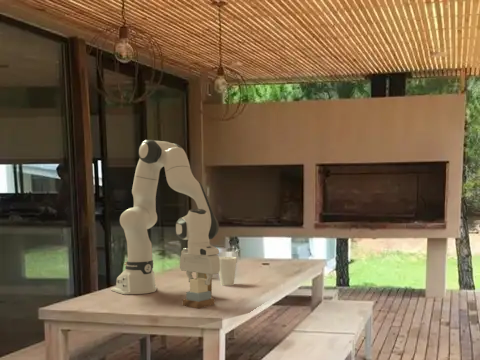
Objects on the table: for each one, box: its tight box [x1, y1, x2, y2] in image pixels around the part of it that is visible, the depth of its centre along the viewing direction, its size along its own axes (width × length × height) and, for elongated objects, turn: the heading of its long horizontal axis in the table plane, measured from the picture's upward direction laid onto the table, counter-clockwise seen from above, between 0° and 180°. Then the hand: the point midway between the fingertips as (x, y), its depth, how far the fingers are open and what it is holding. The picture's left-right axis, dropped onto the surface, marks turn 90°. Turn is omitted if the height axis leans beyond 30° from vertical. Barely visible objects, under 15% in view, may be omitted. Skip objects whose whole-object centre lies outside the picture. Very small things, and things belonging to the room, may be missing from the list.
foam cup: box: [218, 256, 238, 287], centre depth 272 cm, size 10×9×13 cm
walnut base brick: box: [182, 297, 215, 309], centre depth 226 cm, size 9×9×3 cm
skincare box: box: [195, 272, 213, 298], centre depth 243 cm, size 6×4×12 cm
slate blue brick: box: [185, 290, 212, 302], centre depth 226 cm, size 7×7×3 cm
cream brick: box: [189, 278, 208, 293], centre depth 226 cm, size 5×5×5 cm
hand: (199, 283), depth 226 cm, fingers open, 8 cm apart
